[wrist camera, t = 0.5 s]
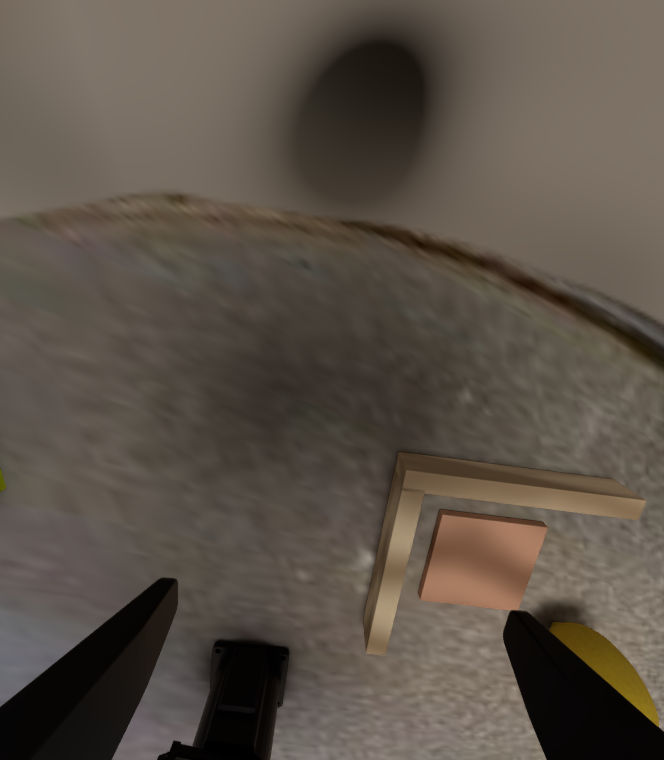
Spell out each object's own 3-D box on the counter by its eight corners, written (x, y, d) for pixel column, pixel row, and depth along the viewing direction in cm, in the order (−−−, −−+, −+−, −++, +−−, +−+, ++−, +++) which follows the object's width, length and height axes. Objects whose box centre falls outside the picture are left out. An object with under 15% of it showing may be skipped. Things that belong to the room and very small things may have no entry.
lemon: (573, 652, 27) (669, 792, 19) (512, 643, 27) (585, 782, 19) (598, 602, 26) (712, 732, 18) (534, 592, 26) (622, 720, 18)
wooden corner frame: (547, 641, 27) (568, 675, 24) (362, 620, 26) (365, 653, 24) (613, 479, 23) (646, 500, 20) (398, 451, 22) (406, 470, 20)
